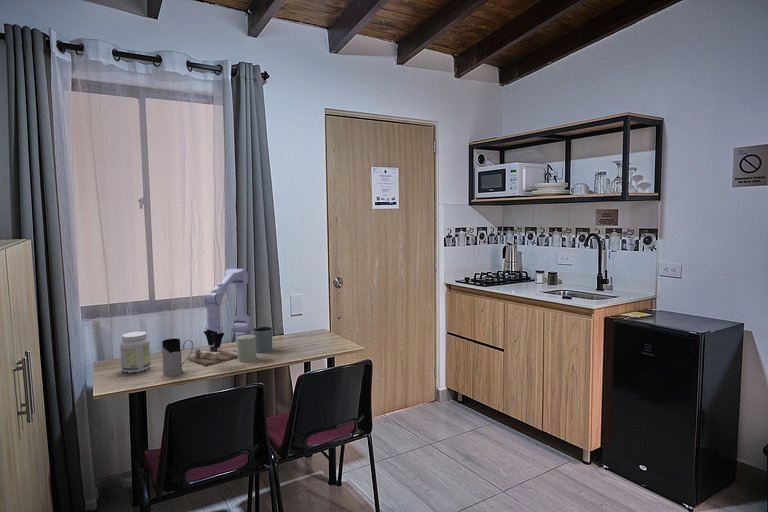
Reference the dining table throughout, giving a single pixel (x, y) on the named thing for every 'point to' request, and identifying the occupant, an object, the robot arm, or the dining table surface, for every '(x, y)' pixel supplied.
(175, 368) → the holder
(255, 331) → the teal cylindrical container
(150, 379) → the dining table surface
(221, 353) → the frame board
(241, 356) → the can
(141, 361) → the supplement tub
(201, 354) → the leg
